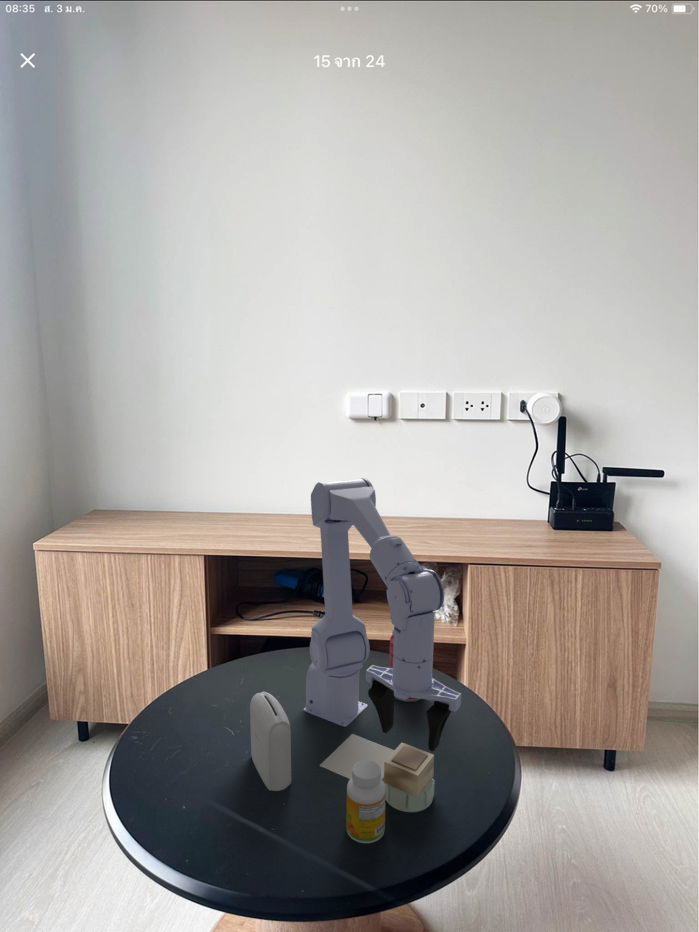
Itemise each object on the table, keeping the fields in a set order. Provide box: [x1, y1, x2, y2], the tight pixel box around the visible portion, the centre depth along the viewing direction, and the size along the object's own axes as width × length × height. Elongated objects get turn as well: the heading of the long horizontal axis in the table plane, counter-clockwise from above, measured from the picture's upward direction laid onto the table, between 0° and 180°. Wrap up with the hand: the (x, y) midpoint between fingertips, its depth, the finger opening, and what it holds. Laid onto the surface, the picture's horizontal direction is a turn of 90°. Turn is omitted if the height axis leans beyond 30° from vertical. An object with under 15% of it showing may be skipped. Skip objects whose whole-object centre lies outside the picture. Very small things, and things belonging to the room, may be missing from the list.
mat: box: [319, 733, 395, 780], centre depth 102 cm, size 10×10×1 cm
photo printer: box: [249, 691, 292, 792], centre depth 98 cm, size 10×4×12 cm, turn 26°
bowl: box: [384, 776, 435, 813], centre depth 94 cm, size 7×7×3 cm
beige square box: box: [383, 742, 435, 797], centre depth 93 cm, size 6×6×4 cm
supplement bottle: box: [345, 760, 386, 844], centre depth 87 cm, size 5×5×10 cm
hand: (410, 738), depth 92 cm, fingers open, 7 cm apart
